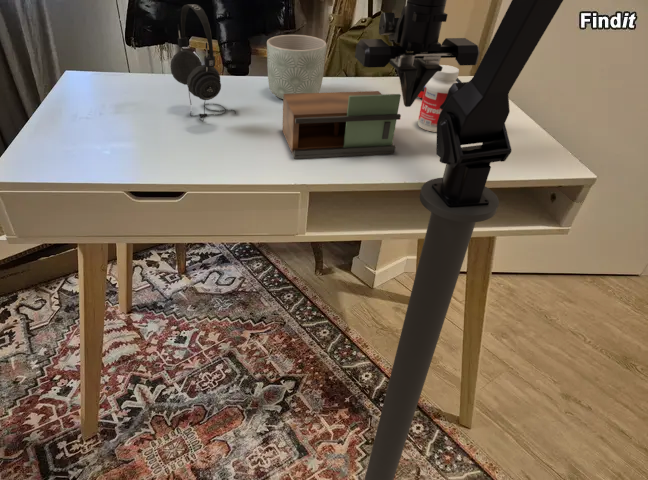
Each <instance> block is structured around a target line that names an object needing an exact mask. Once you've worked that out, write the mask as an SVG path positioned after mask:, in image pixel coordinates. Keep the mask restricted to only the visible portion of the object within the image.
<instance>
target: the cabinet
mask: <svg viewBox="0 0 648 480" xmlns="http://www.w3.org/2000/svg"><path fill="white" fill-rule="evenodd" d="M353 95H383V94H382V93H381V92H380V91H379V90H369V91H367V90H365V91H363V90H362V91H336V92H335V91H334V92H319V93H298V94H283V99H282V104H283V105H282V129H281V130H282V133H283V135H284V138H285V141H286V143H287V145H288V147H289V150H290V152H291V154H292V157H293V159H294V160H301V159H320V158H340V157H360V156H361V157H362V156H381V155H395V151H396V146H395V144H392V145H385V146H364V147H343V144H344V135H345V126H346V122H350V121H375V120H396V121H397V120H398V121H399V120H401V117H402V114H400V113H398V114H383V115H357V116H347V108H348V99H349V96H353Z"/></svg>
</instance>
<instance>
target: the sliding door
mask: <svg viewBox="0 0 648 480" xmlns="http://www.w3.org/2000/svg"><path fill="white" fill-rule="evenodd" d="M401 96H402V94H400V93H391V94H390V93H386V94H385V93H384V94H382V95H353V96H349V99H348V108H347V116H357V115H383V114H399V108H400V102H401ZM396 125H397V120H375V121H350V122H346V126H345V135H344V144H343V147H364V146H385V145H393V142H394V136H395V131H396Z"/></svg>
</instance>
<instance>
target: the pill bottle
mask: <svg viewBox="0 0 648 480" xmlns="http://www.w3.org/2000/svg"><path fill="white" fill-rule="evenodd" d="M439 65H440V66H441V67H443V68H442V71H438V72H436V73H435V74H434V76H433V77H432V78H431V79H430V80H429V82H428V83H427V84H426V85H425V90H424V95H423V99H422V100H421V104H420V109H419V114H418V119H417V126H418V127H419V128H421V129H423V130H425V131H427V132H433V133H437V121H438V118H439V115H440V113H441V111H442V109H440V106H441V105H442V104H443V103H444V101H445V99H446V97H447V94H448V91H449V89H450V87H451V86H452V85H453V84H454V83H458V82H457V81H456V79H457V78H458V79H459V73H460V69H459V68H458V67H456V66H452V65H447V64H439Z"/></svg>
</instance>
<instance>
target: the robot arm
mask: <svg viewBox="0 0 648 480" xmlns="http://www.w3.org/2000/svg"><path fill="white" fill-rule="evenodd" d="M447 1H448V0H406V3H405V5H403V6H402V9H401V12H400V16H399V17H396V14H395V12H394V11H393V12H382V13H380V18H379V24H378V34H379V35H380V36H388V42H389V43H396V44H399V45H389V44H388V43H387V42H385V40H383V38H361V39H360V40H359V41H358V42H357V43H356V45H355V51H354V58H355V59H356V60H357V61H358V62H359V63H360V64H361V65H362V67H364V68H386V66H387V65H388V64H389V65H390V66H392V67H393V68H394V69H395V70H396V72H397V75H398V78H399V82H400V89H401V96H402V101H403V102H402V103H403V106H404V107H406V108H411V106H412V105H413V104H414V102H415V101H416V99H417V98H418V95H419V94H420V92H421V91H422V89H423V88H424V86H425V85H426V84H427V83H428V82H429V80H430V79H431V78H432V77H433V76H434V74H435V73H436V72H438V71H442V68H443V67H441V66H440V65H441V64H440V62H441V59H453V58H455V60H454V61H456V63H457V64H458V65H459V66H460V67H461V66H476V65H478V62H479V58H480V54H481V53H480V52H481V51H480V48H479V46H478V44H476V43H475V42H472V41H471V40H469V39H468V38H466V37H447V38H446V37H445V39H444V40H443V41H442V42H439V39H440V35H441V29H442V24H443V23H446V22H447V19H448V13H446V12H445V11H446V10H445V9H446V7H447V6H446V5H447ZM563 2H564V0H511V1H510V3H509V5H508V7H507V10H506V11H505V14H504V16H503V17H502V19H501V21H500V24H499V25H498V27H497V29H496V31H495V33H494V35H493V37H492V39H491V41H490V42H489V45H488V47H487V49H486V51H485V53H484V55H483V57H482V59H481V61H480V63H479V65H478V67H477V68H476V71H475V72H474V75H473V77H471V79H470V80H469V81H463V82H462V81H461V82H462V83H454V84H453V85H452V86H451V87H450V89H449V91H448V94H447V97H446V99H445V101H444V103H443V104H442V105H441V106H440V109H442V111H441V113H440V115H439V118H438V121H437V132H436V148H435V149H436V152H435V153H436V156H437V157H438V158H439V162H440V163H441V164H445V168H444V173H443V175H442V178H443V179H442V183H434V184H432V188H433V189H434V191H435V192H436V193H437V194H438V196H439V197H440V198H441V199H442V200H443V202H444V203H445V204H446V205H447V206H448V207H450V208H453V207H467V206H482V205H489V202H490V201H489V200H488V199H487V198H486V197H485V196H484V195H483V191H484V188H485V187H486V184H487V181H488V177H489V175H490V172H491V170H492V169H491V168H492V166H491V163H498V162H500V163H502V162H506V160H507V159H508V157H509V156H510V155H511V153H512V146H511V143H510V138H509V133H508V131H507V126H506V122H507V119H508V117H509V115H510V112H511V111H510V97H509V96H510V95H509V93H510V92H511V90H512V88H513V87H514V85H515V83H516V82H517V80H518V78H519V76H520V75H521V73H522V71H523V69H524V67H525V66H526V65H527V63H528V61H529V59H530V58H531V56H532V54H533V52H534V51H535V49H536V48H537V46H538V44H539V42H540V41H541V39H542V37H544V36H543V35H544V34H545V32H546V30H547V29H548V27H549V25H550V24H551V22H552V20H553V19H554V17H555V15H556V13H557V12H558V10H559V8H560V7H561V5H562V3H563ZM475 144H476V145H475ZM465 145H469V146H465Z"/></svg>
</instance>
